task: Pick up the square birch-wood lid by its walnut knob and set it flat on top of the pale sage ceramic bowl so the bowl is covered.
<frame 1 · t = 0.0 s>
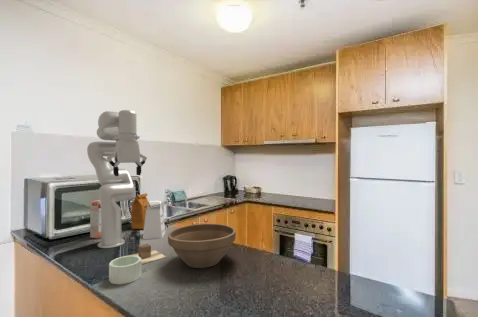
hand: (127, 175, 114), 37 cm above the countertop, tool pointing down, fingers open, 9 cm apart
bowl: (125, 277, 94), on the countertop
lid: (144, 259, 113), on the countertop
grater: (154, 236, 146), on the countertop
flower pot: (202, 262, 108), on the countertop
coffee package: (142, 228, 164), on the countertop
cracker box: (103, 235, 148), on the countertop
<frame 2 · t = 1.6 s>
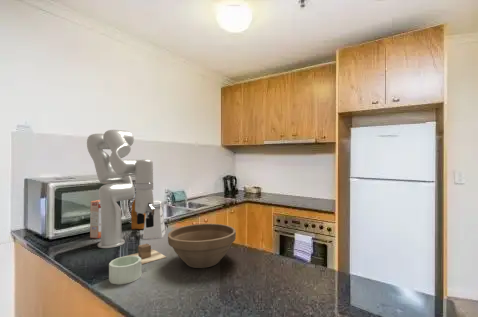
hand: (145, 225, 113), 14 cm above the countertop, tool pointing down, fingers open, 9 cm apart
nothing on the countertop moved.
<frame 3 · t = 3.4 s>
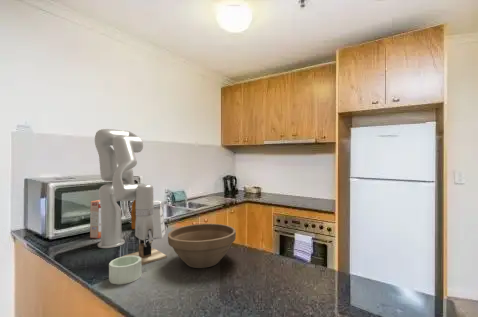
hand: (145, 253, 112), 2 cm above the countertop, tool pointing down, fingers closed on lid, 4 cm apart
lid: (145, 257, 112), on the countertop, touching gripper
everything else where it was.
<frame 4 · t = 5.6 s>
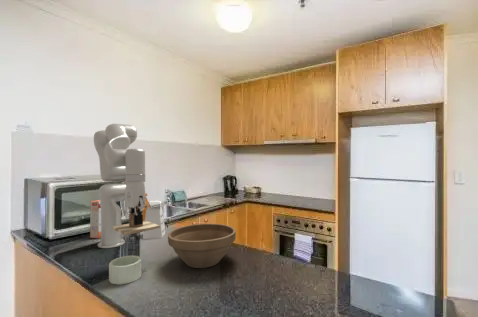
hand: (136, 223, 103), 18 cm above the countertop, tool pointing down, fingers closed on lid, 4 cm apart
lid: (136, 228, 103), point 16 cm above the countertop, touching gripper
everything else where it was.
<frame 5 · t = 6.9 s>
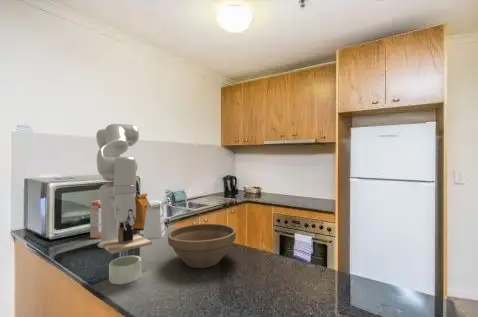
hand: (125, 238, 94), 14 cm above the countertop, tool pointing down, fingers closed on lid, 4 cm apart
lid: (125, 244, 94), point 12 cm above the countertop, touching gripper
everything else where it was.
when the fingers open (9 cm above the countertop, at t = 8.1 s): lid stays where it is, resting on bowl.
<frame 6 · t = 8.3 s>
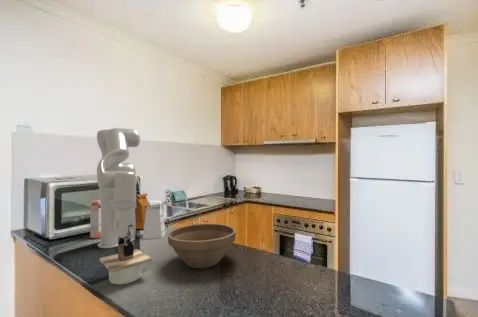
hand: (125, 252, 94), 9 cm above the countertop, tool pointing down, fingers open, 5 cm apart
lid: (125, 260, 94), point 6 cm above the countertop, touching bowl
everything else where it was.
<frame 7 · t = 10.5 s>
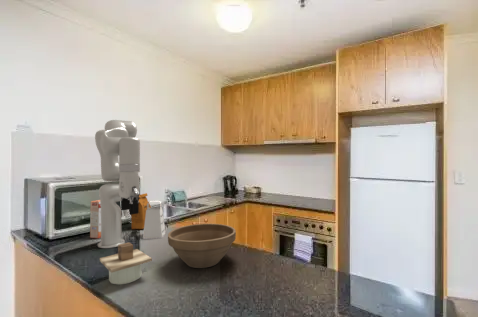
hand: (129, 211, 99), 23 cm above the countertop, tool pointing down, fingers open, 9 cm apart
nothing on the countertop moved.
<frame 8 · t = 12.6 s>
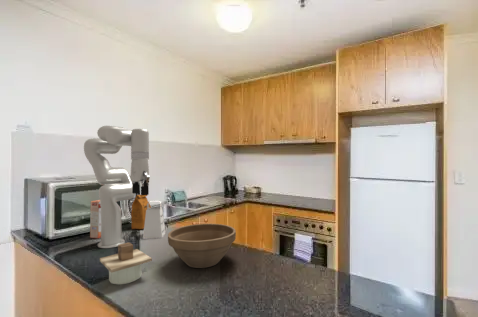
hand: (140, 194, 114), 28 cm above the countertop, tool pointing down, fingers open, 9 cm apart
nothing on the countertop moved.
at the end: lid 0.1 cm off-centre on the bowl, point 6.0 cm above the bowl's base; lid tilted 0°; the gripper is holding nothing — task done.
